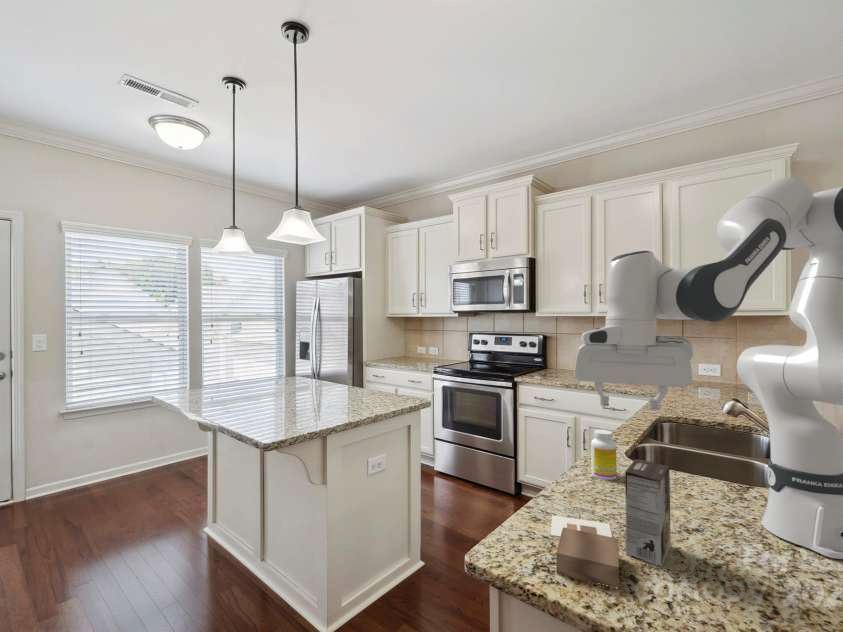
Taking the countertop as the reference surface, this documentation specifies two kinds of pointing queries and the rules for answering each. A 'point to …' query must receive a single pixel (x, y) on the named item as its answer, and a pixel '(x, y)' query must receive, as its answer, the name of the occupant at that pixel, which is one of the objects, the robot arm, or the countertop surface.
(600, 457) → the supplement bottle
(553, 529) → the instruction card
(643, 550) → the coffee box
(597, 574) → the base block
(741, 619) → the countertop surface
